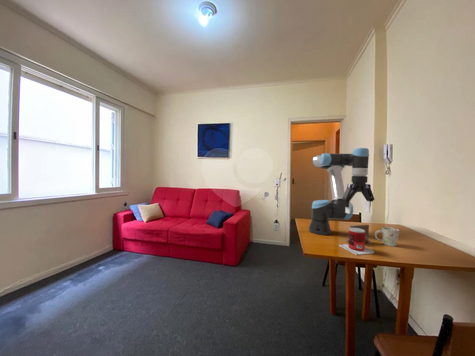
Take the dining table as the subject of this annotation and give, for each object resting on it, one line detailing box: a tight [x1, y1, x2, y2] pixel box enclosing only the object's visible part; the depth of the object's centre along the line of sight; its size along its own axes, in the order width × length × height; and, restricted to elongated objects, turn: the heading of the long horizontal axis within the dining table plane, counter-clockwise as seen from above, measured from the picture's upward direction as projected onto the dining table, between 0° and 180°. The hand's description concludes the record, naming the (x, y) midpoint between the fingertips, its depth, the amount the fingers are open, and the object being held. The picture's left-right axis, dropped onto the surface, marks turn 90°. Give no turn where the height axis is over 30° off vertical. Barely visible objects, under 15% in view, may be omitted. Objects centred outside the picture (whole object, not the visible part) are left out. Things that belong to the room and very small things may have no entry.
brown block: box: [345, 224, 372, 244], centre depth 114 cm, size 5×14×11 cm, turn 103°
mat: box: [338, 243, 375, 256], centre depth 103 cm, size 12×12×1 cm
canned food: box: [347, 228, 366, 251], centre depth 103 cm, size 8×8×11 cm
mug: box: [374, 226, 400, 247], centre depth 112 cm, size 8×13×10 cm, turn 78°
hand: (357, 212), depth 102 cm, fingers open, 13 cm apart
